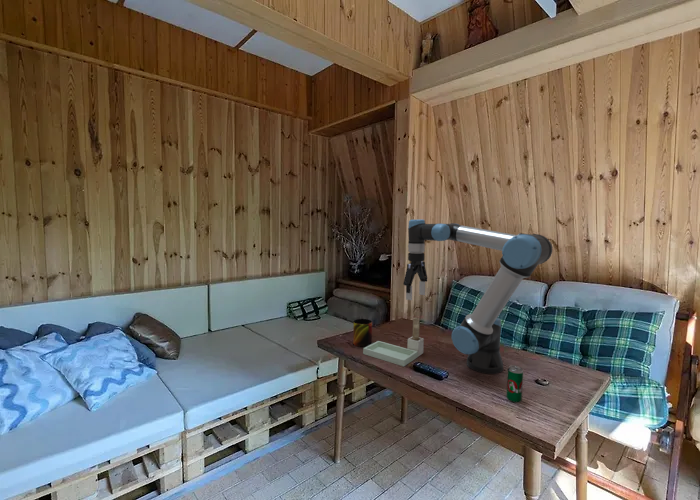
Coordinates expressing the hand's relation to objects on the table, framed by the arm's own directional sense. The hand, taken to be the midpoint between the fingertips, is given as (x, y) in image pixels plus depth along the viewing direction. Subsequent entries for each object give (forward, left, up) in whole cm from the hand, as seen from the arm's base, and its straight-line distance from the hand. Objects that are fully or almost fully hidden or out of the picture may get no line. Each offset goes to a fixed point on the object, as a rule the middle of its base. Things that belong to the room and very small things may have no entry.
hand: (415, 297), depth 162 cm
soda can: (-47, +14, -28) cm, 57 cm away
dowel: (0, 0, -27) cm, 27 cm away
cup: (0, 0, -28) cm, 28 cm away
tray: (+8, +10, -28) cm, 31 cm away
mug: (+30, +4, -29) cm, 41 cm away
